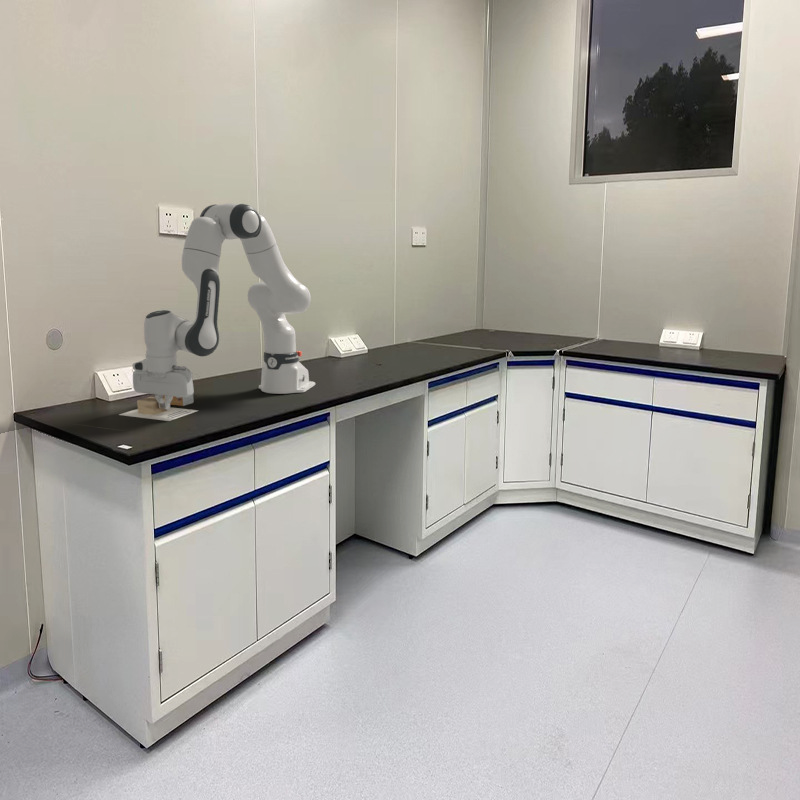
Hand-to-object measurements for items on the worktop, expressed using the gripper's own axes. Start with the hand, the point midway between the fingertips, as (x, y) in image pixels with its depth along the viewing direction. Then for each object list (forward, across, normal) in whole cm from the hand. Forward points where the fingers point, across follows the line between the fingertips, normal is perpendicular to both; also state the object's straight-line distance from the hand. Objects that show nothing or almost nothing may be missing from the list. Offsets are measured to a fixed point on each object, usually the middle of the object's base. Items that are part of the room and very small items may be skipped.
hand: (164, 408), depth 202 cm
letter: (+2, +2, 0) cm, 3 cm away
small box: (+2, +5, -13) cm, 14 cm away
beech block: (+2, +5, 0) cm, 5 cm away
